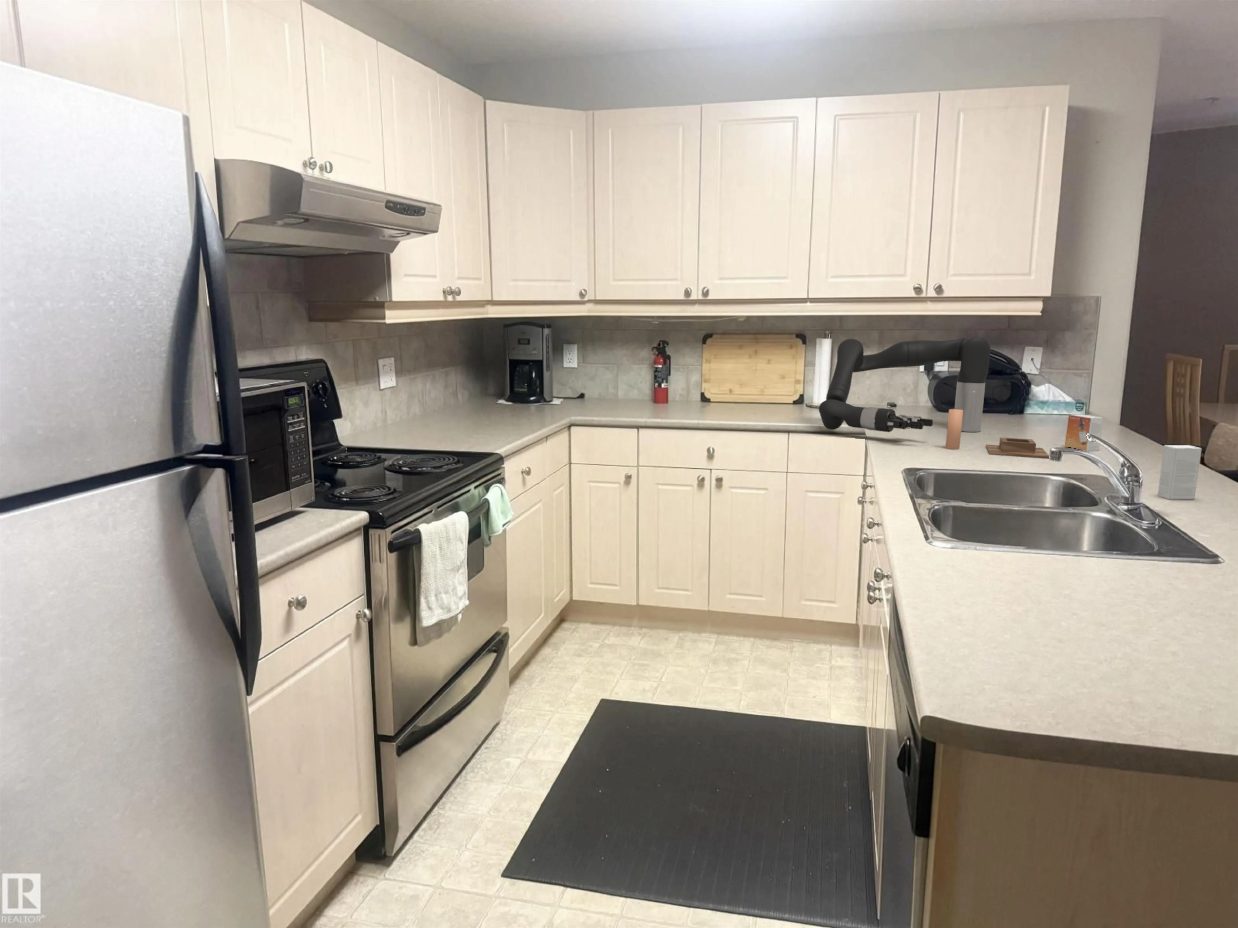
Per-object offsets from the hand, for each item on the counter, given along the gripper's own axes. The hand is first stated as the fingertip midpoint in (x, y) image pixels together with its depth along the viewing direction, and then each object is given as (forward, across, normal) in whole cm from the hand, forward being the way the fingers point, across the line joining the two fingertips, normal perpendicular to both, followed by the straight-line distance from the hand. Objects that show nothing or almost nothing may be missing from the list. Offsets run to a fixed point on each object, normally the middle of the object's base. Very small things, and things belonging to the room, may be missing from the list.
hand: (927, 424), depth 251 cm
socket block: (+25, -7, -7) cm, 27 cm away
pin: (+8, 0, -7) cm, 11 cm away
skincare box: (+69, +33, -6) cm, 77 cm away
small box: (+38, -29, -7) cm, 48 cm away
